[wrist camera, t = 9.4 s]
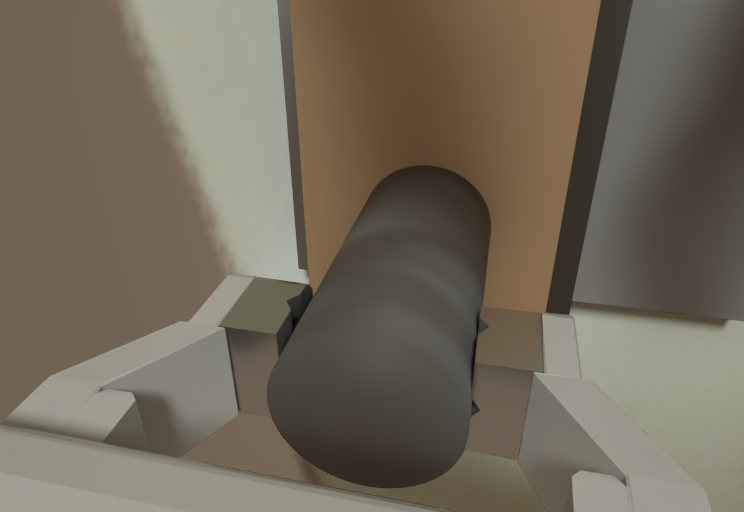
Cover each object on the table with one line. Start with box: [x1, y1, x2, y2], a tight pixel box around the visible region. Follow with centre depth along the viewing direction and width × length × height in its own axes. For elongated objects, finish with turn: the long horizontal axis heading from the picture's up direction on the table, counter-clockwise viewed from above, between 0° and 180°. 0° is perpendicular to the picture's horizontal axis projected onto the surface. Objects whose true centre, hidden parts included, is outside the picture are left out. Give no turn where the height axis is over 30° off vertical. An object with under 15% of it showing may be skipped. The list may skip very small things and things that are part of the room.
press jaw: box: [267, 0, 633, 488], centre depth 14 cm, size 7×12×14 cm, turn 0°
